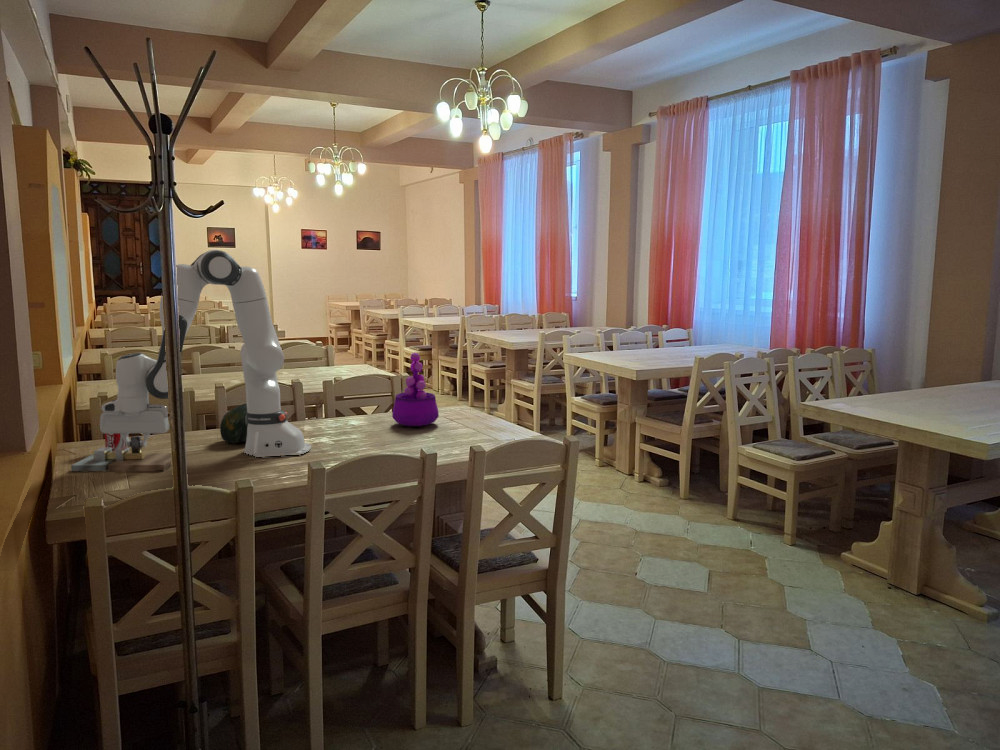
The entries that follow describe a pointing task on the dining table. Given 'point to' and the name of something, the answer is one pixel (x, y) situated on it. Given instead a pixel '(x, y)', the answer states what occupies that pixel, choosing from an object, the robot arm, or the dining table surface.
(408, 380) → the decorative plant
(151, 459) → the door board
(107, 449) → the bolt guides
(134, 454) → the bolt
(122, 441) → the soda can
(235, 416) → the squash
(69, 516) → the dining table surface
